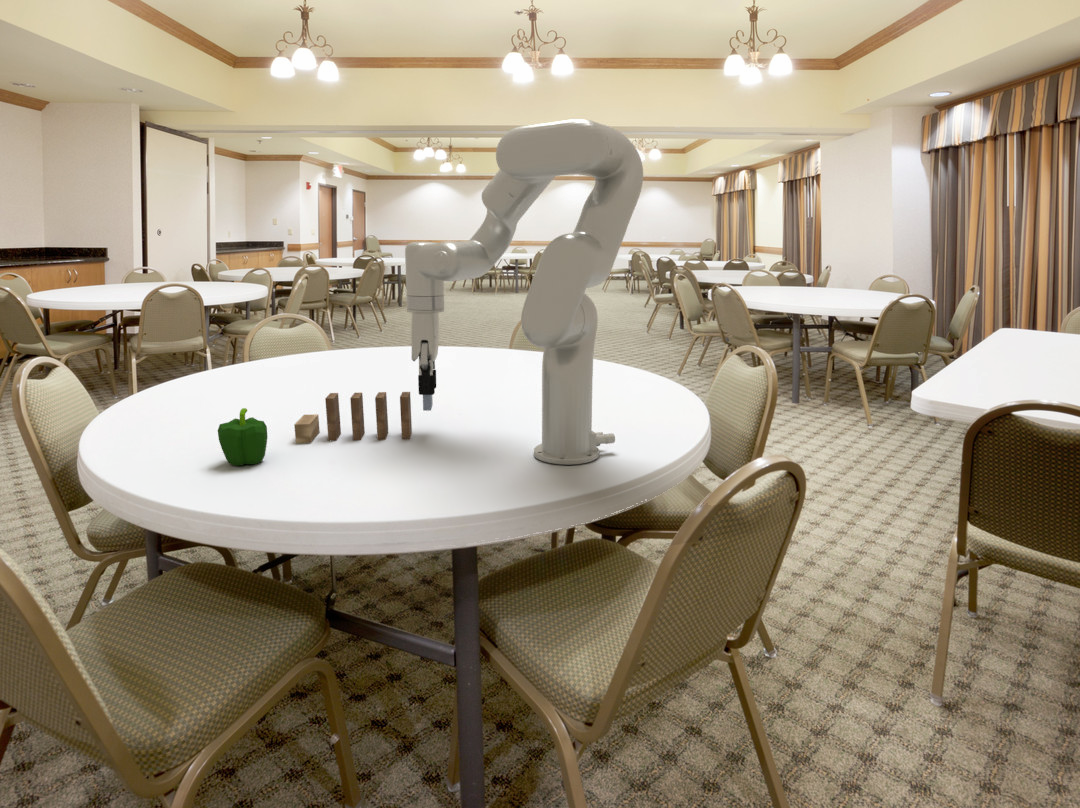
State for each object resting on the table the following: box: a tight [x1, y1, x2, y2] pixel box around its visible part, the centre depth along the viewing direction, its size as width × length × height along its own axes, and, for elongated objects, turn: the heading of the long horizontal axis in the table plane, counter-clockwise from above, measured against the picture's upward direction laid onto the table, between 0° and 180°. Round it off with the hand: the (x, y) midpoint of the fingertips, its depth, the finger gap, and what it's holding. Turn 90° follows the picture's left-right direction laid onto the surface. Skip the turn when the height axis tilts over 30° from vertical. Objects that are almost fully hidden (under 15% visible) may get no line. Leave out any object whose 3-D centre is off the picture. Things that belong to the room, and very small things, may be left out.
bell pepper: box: [217, 407, 268, 467], centre depth 131 cm, size 8×8×10 cm
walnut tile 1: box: [399, 391, 413, 440], centre depth 149 cm, size 2×5×9 cm, turn 4°
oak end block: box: [294, 413, 321, 444], centre depth 148 cm, size 3×8×4 cm, turn 4°
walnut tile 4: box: [324, 392, 342, 442], centre depth 148 cm, size 2×5×9 cm, turn 4°
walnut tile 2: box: [374, 391, 389, 441], centre depth 149 cm, size 2×5×9 cm, turn 4°
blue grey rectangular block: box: [422, 364, 434, 412], centre depth 148 cm, size 2×5×9 cm, turn 5°
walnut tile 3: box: [349, 392, 366, 441], centre depth 148 cm, size 2×5×9 cm, turn 5°
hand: (427, 390), depth 148 cm, fingers closed on blue grey rectangular block, 4 cm apart
